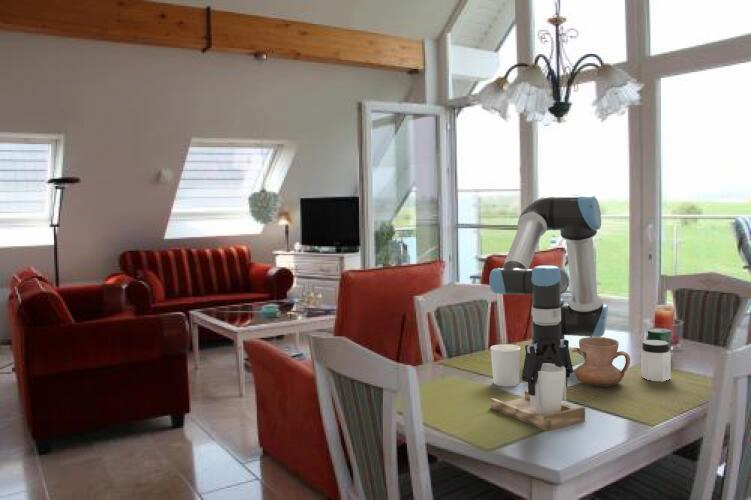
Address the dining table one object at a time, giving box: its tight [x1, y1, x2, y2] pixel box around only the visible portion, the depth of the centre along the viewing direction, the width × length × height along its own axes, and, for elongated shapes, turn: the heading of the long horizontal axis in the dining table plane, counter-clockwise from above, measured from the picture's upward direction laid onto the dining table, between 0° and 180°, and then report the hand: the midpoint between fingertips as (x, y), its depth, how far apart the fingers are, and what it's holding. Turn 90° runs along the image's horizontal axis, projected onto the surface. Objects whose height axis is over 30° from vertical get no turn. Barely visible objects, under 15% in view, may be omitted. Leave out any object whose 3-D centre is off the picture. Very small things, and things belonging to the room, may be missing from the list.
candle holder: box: [489, 343, 522, 388], centre depth 213 cm, size 10×10×12 cm
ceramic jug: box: [571, 336, 631, 388], centre depth 208 cm, size 18×14×14 cm
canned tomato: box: [646, 327, 672, 352], centre depth 235 cm, size 8×8×11 cm
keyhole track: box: [490, 389, 586, 432], centre depth 182 cm, size 23×14×4 cm, turn 28°
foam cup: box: [532, 363, 566, 416], centre depth 177 cm, size 10×9×13 cm
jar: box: [640, 339, 672, 383], centre depth 212 cm, size 9×8×12 cm
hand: (548, 403), depth 178 cm, fingers closed on foam cup, 9 cm apart
